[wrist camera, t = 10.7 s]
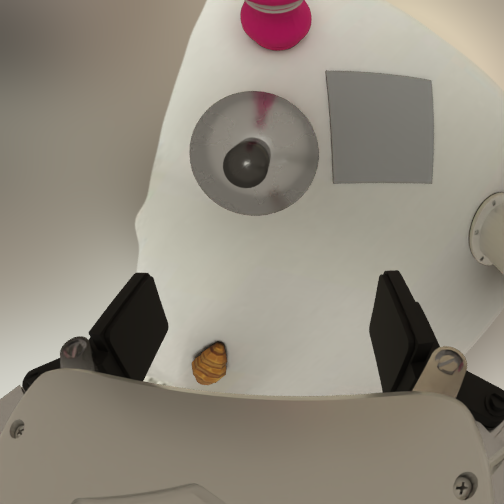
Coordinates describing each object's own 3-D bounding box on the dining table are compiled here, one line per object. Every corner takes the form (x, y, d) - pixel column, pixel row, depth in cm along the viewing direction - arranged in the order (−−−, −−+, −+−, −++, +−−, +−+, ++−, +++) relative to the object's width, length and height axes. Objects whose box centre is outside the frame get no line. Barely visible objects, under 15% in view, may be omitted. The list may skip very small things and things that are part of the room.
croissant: (203, 332, 48) (196, 353, 44) (239, 346, 49) (234, 367, 44) (187, 371, 55) (181, 390, 50) (217, 382, 55) (213, 401, 51)
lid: (312, 87, 24) (322, 80, 18) (319, 208, 30) (329, 236, 24) (185, 102, 26) (157, 101, 20) (203, 215, 32) (183, 244, 26)
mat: (429, 80, 25) (431, 80, 25) (430, 182, 32) (431, 183, 31) (325, 71, 27) (326, 70, 27) (333, 182, 33) (333, 183, 33)
